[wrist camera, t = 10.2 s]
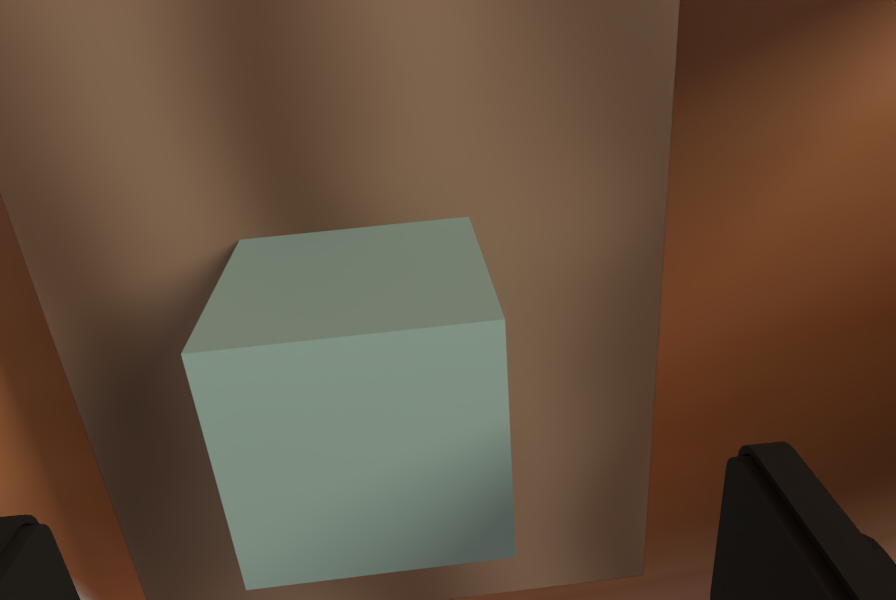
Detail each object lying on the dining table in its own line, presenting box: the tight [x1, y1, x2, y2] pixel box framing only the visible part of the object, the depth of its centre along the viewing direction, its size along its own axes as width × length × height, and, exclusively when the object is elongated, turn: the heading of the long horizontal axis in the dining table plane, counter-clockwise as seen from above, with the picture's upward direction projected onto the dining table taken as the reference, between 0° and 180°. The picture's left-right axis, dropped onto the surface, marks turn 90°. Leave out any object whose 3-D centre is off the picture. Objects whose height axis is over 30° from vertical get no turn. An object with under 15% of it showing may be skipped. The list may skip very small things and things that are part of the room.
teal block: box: [181, 217, 516, 590], centre depth 14 cm, size 5×5×5 cm
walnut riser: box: [0, 0, 680, 600], centre depth 19 cm, size 14×18×5 cm
